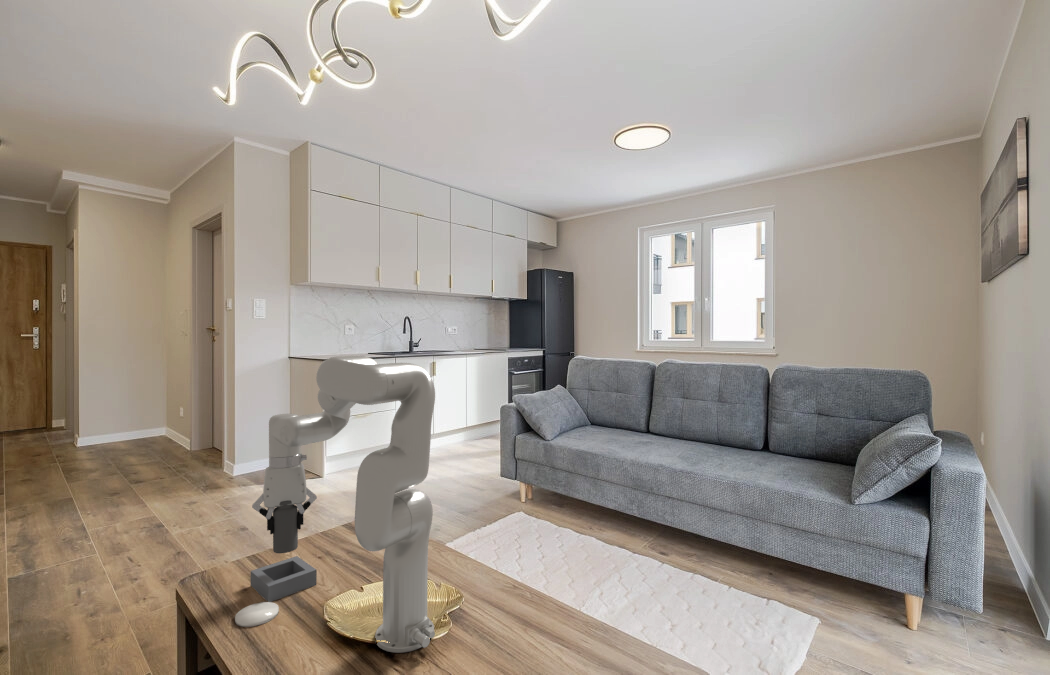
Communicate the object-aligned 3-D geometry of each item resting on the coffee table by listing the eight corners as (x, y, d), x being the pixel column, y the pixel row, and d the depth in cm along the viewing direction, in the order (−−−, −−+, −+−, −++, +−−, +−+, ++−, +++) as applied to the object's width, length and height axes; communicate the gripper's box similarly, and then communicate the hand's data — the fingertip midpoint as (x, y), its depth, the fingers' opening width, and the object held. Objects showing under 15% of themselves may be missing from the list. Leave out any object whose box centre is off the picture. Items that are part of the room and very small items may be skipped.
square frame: (316, 584, 130) (316, 569, 130) (268, 602, 121) (268, 586, 121) (296, 570, 138) (296, 556, 138) (250, 586, 129) (250, 570, 129)
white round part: (285, 615, 116) (285, 611, 116) (243, 631, 109) (243, 628, 109) (269, 601, 122) (269, 597, 122) (229, 616, 115) (229, 612, 115)
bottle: (291, 553, 126) (290, 495, 126) (268, 553, 126) (268, 495, 127) (301, 544, 132) (301, 488, 132) (280, 544, 132) (280, 488, 132)
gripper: (318, 454, 137) (319, 519, 137) (247, 462, 129) (248, 531, 129) (321, 460, 130) (322, 528, 130) (247, 468, 122) (247, 541, 122)
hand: (285, 529), depth 129 cm, fingers closed on bottle, 5 cm apart
